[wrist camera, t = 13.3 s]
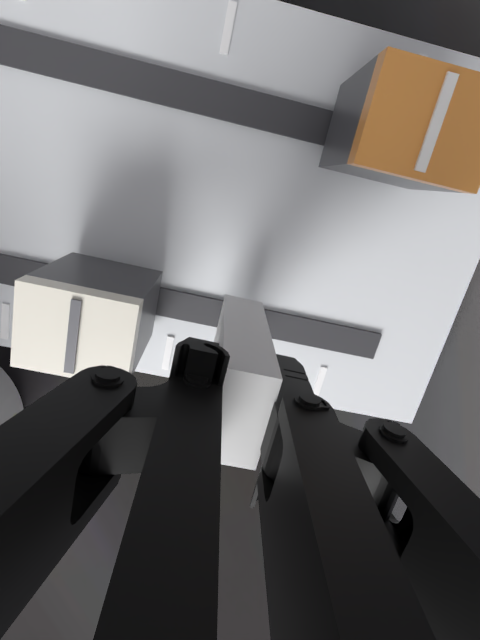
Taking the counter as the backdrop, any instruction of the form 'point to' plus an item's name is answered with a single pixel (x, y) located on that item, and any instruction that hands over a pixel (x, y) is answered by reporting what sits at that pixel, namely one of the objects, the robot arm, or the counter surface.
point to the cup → (8, 398)
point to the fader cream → (83, 315)
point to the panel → (227, 184)
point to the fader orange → (408, 124)
